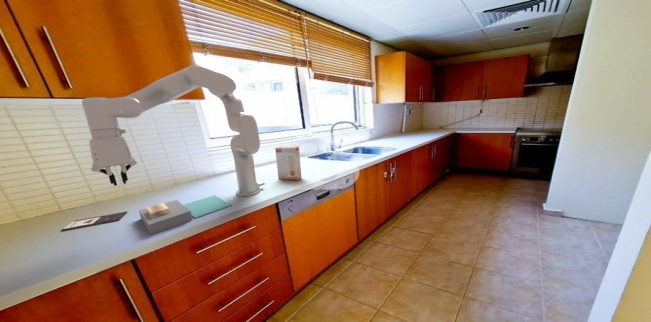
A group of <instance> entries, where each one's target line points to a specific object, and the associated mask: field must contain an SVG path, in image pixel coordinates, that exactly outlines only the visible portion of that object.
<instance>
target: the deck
mask: <svg viewBox="0 0 651 322" xmlns="http://www.w3.org/2000/svg"><path fill="white" fill-rule="evenodd" d="M163 203H164V202H163ZM164 204H165V205H166V206H167V207H168V208H169V210H170V213H168V214H164V215H161V216H158V217H155V218H151V216H150V215H149V214H148V212H147V209H146V208H143V209H139V210H138V213H139V215H140V220H141V221H142V223H143V224H144V226H145V227H146V229H147V231H148V233H150V235H154V234H156V232H157V233H159V231H160V232H162V231H165V230H167V229H170V227H171V228H173V226H174V227H176V226H179V225H181V224H184V223H188V222H190V221H193V217H192V215H191V211H190V210H189V209H188V208H186V207H185V206H184V204H183V203H181V201H179V200H178V199H173V200H171V201H167V202H165V203H164Z"/></svg>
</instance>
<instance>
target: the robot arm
mask: <svg viewBox="0 0 651 322" xmlns="http://www.w3.org/2000/svg"><path fill="white" fill-rule="evenodd" d="M200 87H201V88H204V89H208V91H209V92H210V94H212V95H213V96H216V97H217V98H218V99H220V101H222V104H223V106H224V110H225V114H226V115H225V116H226V119H227V124H228V127H229V129H230V130H231V131H233V132H235V133H239V134H236V135H234V136H233V137H232V138H231V139H230V144H229V145H230V151H231V153H232V155H233V156H232V157H233V160H234V167H235V174H236V182H237V187H238V189H237V190H236V191H235V194H236V196H237V197H250V196H254V195H257V194H258V193H260V191H261V187H262V186H265V181H261V182H260V181H258V182H257V178H256V169H255V162H254V161H255V160H254V156H253V155H254V154H257V153H258V152H259V150H260V147H261V142H260V141H261V140H260V134H259V129H258V123H257V121H256V119H255V117H254V115H252V113H249V112H245V109H244V106H243V101H242V99H241V97H240V95H239V94H238V92H237V91H236V88H237V83H236V80H235V79H234V78H233V77H232V76H230V75H229V74H227V73H224V72H221V71H218V70H215V69H212V68H209V67H207V66H204V65H200V64H191V65H189V66H186V67H185V68H184V67H183V68H182V69H181V70H178V71H176V72H173V73H172V74H171V73H170V74H169V75H166V76H164V77H162V78H160V79H158V80H155V81H153V82H152V83H150V84H149V85H147V86H145V87H143V88H142V89H141V88H140V89H139V90H137V91H135V92H133V93H130V94H128V95H126V96H121V97H111V98H110V97H109V98H108V97H85V98H83V99H82V100H81V105H82V109H83V112H84V115H85V119H86V121H87V126H88V128H89V132H90V135H91V139H89V151H90V153H91V154H90V155H91V159H92V166H91V169H90V171H92V172H97V173H102V174H104V175H107V176H108V179H109V182H110V184H112V185H114V187H116V186H118V183H117V179H116V176H115V173H113V172H112V168H111V167H117V166H120V177H121V181H122V183H123V184H127V181H129V179H128V174H127V173H128V171H129V170H130V169H131V168H132V167H134V166H136V165H137V164H138V162H137V161H136V160H135V159H134V158H133V155H132V152H131V149H130V147H129V144H128V142H127V140H126V138H125V136H123V134H127V131H126V129H122V128H120V125H119V122H118V119H121V118H122V119H136V118H138V117H140V116H141V115H142V114H143V113H145V112H147V111H149V110H151V109H153V108H156V107H157V106H159V105H163V104H167V103H169V102H171V101H174V100H177V99H178V98H180V97H181V96H182V97H183V96H184V95H186V94H188V93H191V92H193V91H195V90H196V89H198V88H200Z"/></svg>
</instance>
